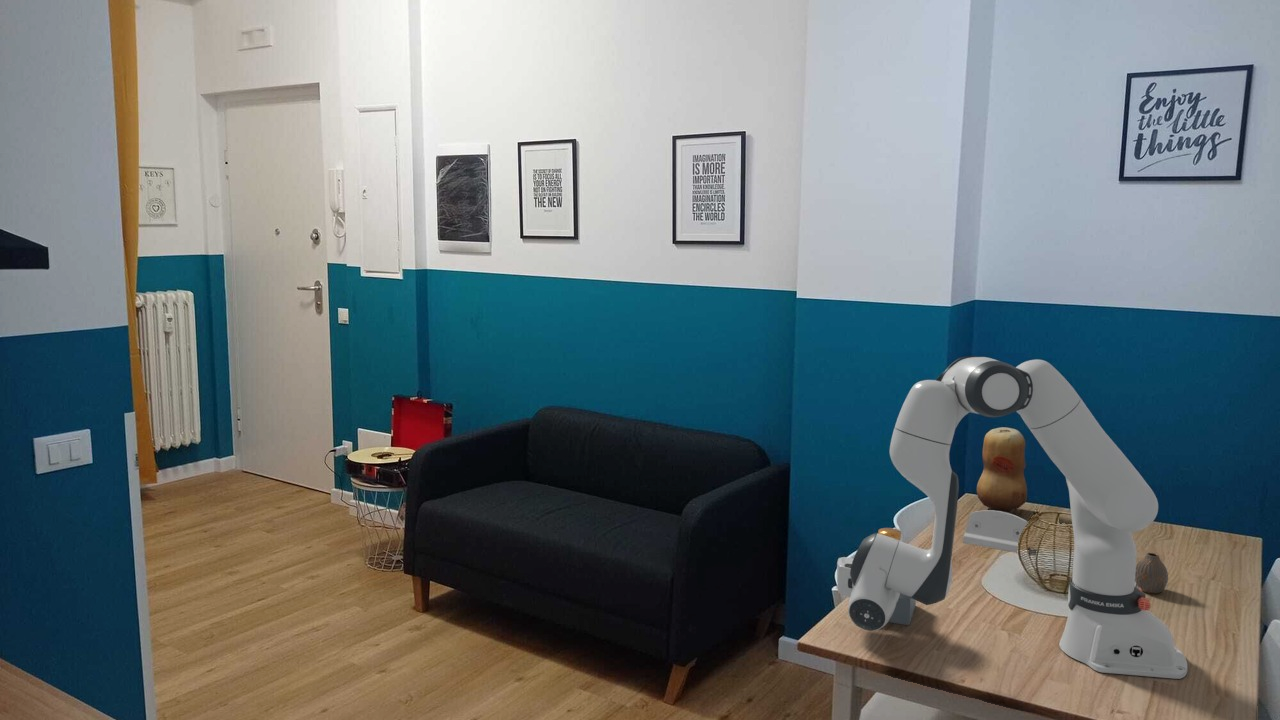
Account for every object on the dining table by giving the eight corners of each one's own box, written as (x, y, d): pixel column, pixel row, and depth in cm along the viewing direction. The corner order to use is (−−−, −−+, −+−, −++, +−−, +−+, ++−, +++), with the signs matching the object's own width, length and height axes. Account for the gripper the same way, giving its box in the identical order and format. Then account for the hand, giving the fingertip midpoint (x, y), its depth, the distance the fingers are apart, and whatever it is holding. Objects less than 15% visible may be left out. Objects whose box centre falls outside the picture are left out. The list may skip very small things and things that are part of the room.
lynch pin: (899, 600, 204) (902, 529, 202) (897, 608, 200) (899, 536, 198) (878, 596, 206) (880, 526, 204) (874, 605, 202) (876, 533, 199)
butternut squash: (974, 515, 267) (978, 432, 264) (977, 502, 280) (980, 422, 276) (1025, 520, 262) (1030, 436, 258) (1026, 507, 274) (1030, 425, 270)
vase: (1159, 598, 208) (1162, 562, 207) (1128, 589, 213) (1130, 554, 212) (1171, 590, 213) (1174, 554, 211) (1140, 582, 218) (1143, 546, 216)
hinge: (960, 542, 246) (966, 505, 247) (965, 543, 250) (970, 506, 251) (1026, 554, 236) (1031, 516, 237) (1030, 555, 240) (1035, 517, 241)
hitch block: (915, 605, 206) (916, 580, 205) (909, 625, 196) (910, 598, 196) (866, 597, 211) (866, 573, 210) (857, 617, 201) (858, 591, 200)
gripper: (932, 578, 186) (938, 555, 198) (831, 564, 194) (843, 543, 206) (931, 607, 187) (937, 582, 199) (830, 592, 195) (843, 569, 207)
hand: (889, 562), depth 203 cm, fingers closed on lynch pin, 3 cm apart
